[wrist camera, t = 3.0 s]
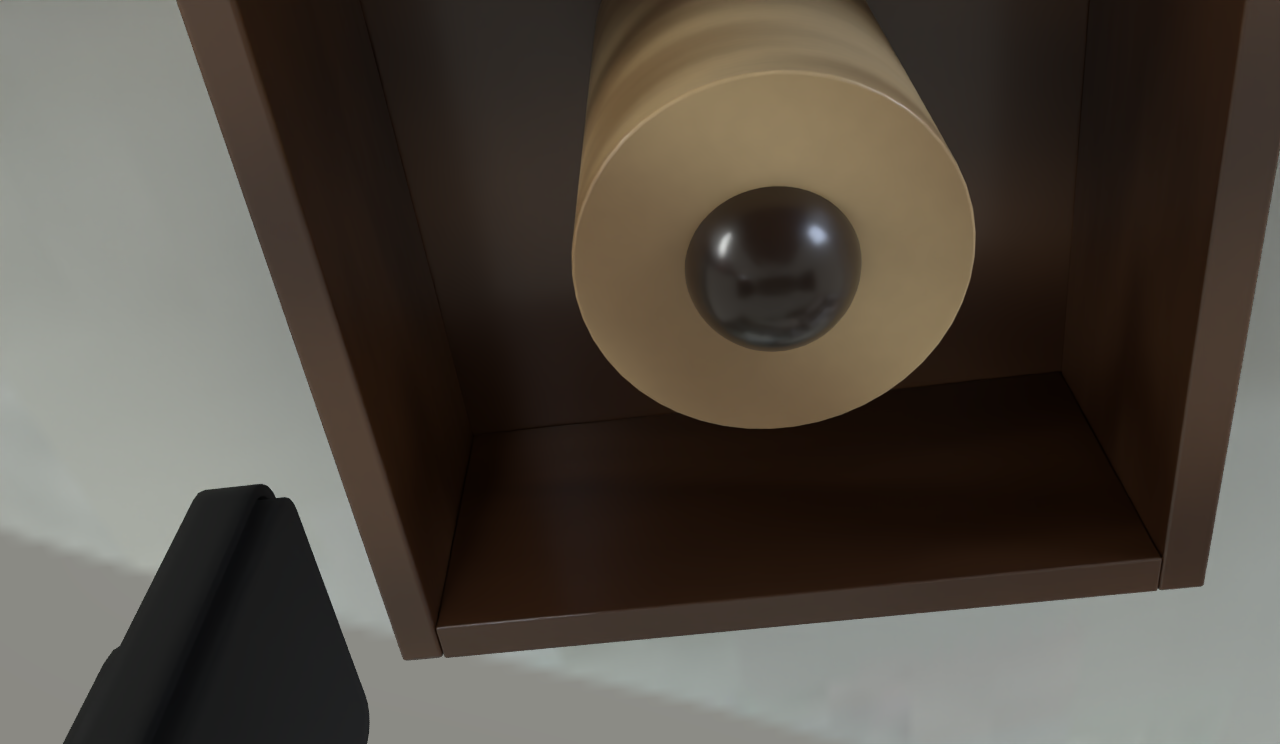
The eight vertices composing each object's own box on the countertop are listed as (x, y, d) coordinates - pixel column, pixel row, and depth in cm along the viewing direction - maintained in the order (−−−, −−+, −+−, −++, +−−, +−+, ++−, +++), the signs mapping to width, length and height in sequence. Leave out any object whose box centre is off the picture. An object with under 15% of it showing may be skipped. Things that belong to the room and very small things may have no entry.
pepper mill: (754, -158, 20) (830, 4, 12) (918, 63, 22) (1077, 328, 14) (537, 34, 22) (477, 287, 14) (708, 221, 24) (743, 537, 16)
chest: (1084, 376, 27) (1204, 587, 21) (450, 444, 28) (402, 662, 22) (1172, -627, 17) (1438, -741, 11) (201, -466, 18) (2, -495, 12)
